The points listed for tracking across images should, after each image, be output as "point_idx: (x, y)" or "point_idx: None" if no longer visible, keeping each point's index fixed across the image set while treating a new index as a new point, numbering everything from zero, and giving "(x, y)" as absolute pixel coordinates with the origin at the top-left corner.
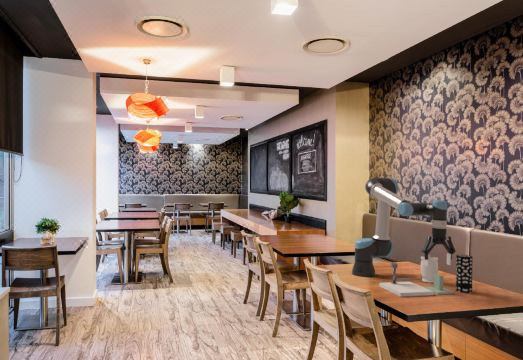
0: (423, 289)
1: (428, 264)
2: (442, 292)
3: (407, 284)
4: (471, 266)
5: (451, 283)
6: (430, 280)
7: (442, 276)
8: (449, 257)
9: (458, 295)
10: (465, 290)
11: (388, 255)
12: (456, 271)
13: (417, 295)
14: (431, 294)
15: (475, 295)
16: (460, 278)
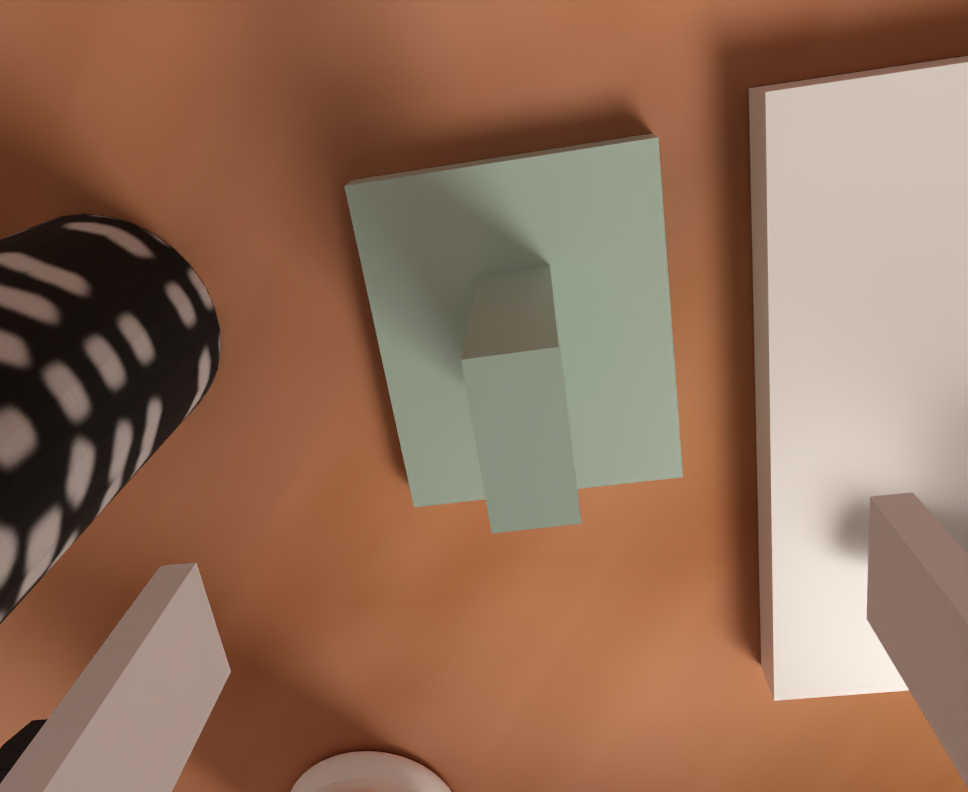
0: (866, 239)
1: (931, 514)
2: (556, 153)
3: None
4: None
5: None
6: (387, 780)
7: (484, 351)
8: (92, 747)
9: (314, 68)
10: (108, 231)
11: None
12: (69, 506)
13: None
14: (795, 83)
15: (19, 65)
16: (86, 341)
